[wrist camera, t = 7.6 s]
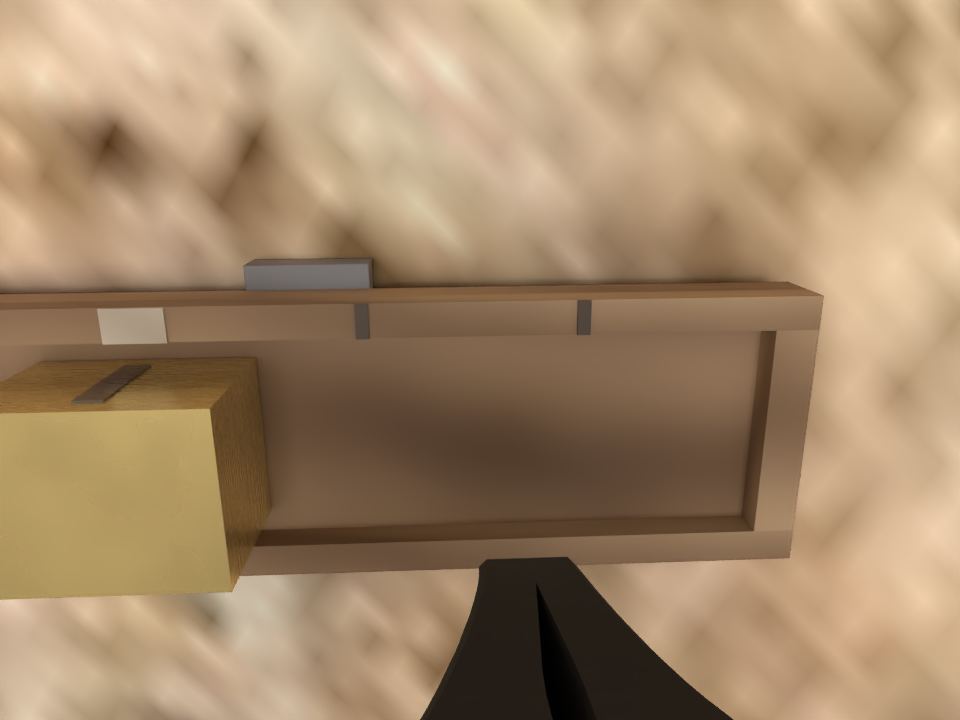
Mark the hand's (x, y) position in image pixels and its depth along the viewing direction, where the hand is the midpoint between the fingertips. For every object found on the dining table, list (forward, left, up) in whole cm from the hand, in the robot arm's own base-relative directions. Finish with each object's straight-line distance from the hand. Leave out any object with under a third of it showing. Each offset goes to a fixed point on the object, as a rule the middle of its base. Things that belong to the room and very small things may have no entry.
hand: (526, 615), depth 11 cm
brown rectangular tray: (0, +4, -9) cm, 10 cm away
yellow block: (0, +8, -7) cm, 11 cm away
